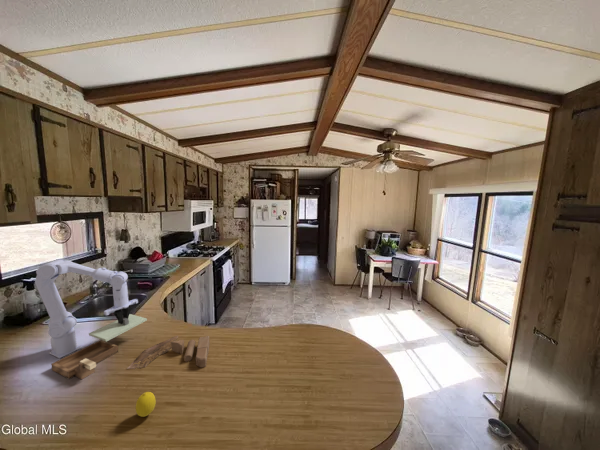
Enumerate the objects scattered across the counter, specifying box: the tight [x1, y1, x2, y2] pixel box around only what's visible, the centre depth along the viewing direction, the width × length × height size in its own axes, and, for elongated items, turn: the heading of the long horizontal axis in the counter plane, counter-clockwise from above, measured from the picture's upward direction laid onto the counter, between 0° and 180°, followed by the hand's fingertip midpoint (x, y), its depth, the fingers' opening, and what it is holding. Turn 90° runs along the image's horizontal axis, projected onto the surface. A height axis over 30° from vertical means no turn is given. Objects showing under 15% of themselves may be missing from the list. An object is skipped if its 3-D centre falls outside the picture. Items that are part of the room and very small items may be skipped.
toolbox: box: [50, 339, 119, 380], centre depth 101 cm, size 18×18×6 cm
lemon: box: [135, 391, 157, 418], centre depth 76 cm, size 6×6×8 cm
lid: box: [88, 313, 148, 342], centre depth 114 cm, size 14×19×4 cm
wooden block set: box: [170, 335, 210, 368], centre depth 104 cm, size 17×6×18 cm
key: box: [80, 358, 97, 370], centre depth 93 cm, size 7×2×2 cm, turn 68°
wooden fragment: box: [126, 335, 179, 370], centre depth 109 cm, size 26×11×1 cm, turn 158°
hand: (123, 322), depth 116 cm, fingers closed on lid, 2 cm apart
